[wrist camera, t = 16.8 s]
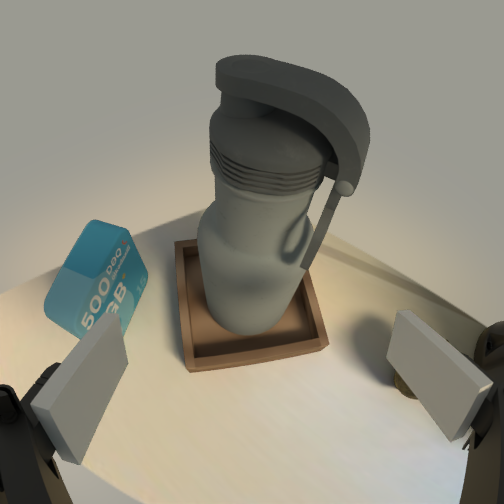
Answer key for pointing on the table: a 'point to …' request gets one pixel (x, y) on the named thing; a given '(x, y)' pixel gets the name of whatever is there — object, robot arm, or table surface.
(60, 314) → the data package
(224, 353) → the walnut tray
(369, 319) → the table surface
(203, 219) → the water bottle
